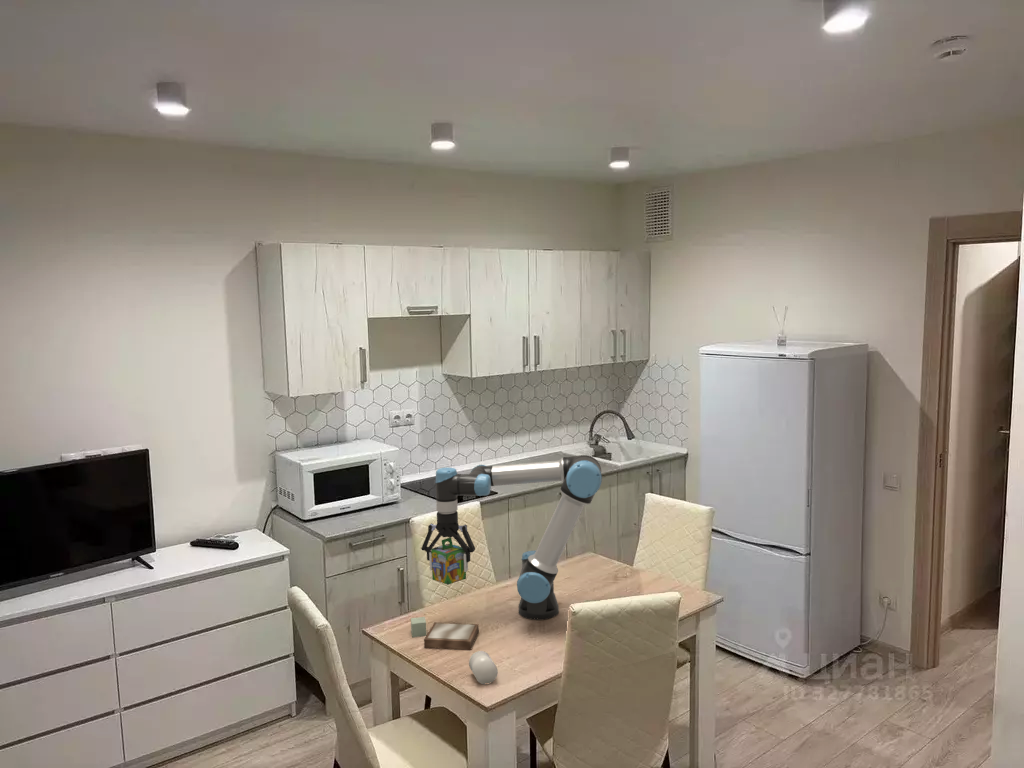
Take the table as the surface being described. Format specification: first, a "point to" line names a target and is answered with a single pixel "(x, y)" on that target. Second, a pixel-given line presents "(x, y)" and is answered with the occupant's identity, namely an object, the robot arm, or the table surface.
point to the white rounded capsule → (483, 667)
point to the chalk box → (448, 563)
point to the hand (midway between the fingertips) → (448, 569)
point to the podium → (451, 636)
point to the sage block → (418, 627)
